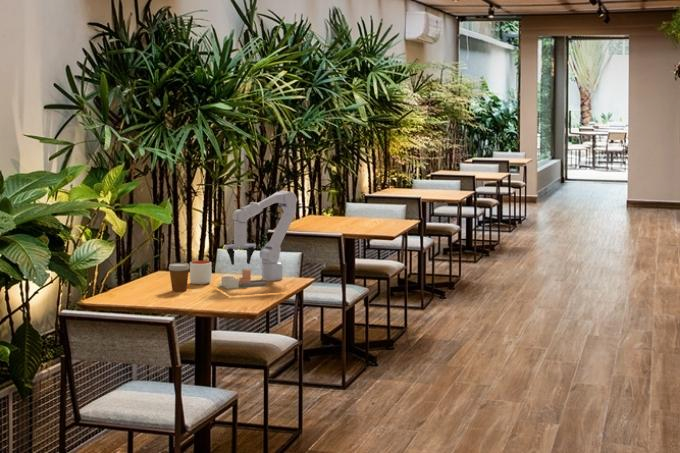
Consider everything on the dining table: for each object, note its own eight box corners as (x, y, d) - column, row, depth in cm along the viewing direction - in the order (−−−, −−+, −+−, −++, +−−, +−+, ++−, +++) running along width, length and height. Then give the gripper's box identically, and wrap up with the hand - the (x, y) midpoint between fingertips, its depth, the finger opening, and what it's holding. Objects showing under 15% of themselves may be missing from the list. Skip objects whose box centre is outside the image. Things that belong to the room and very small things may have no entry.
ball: (228, 276, 465) (226, 284, 465) (231, 277, 461) (228, 285, 461) (236, 278, 466) (234, 286, 466) (239, 279, 463) (236, 287, 463)
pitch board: (259, 282, 479) (259, 272, 478) (269, 288, 466) (269, 277, 465) (216, 285, 470) (216, 275, 470) (225, 291, 458) (225, 280, 457)
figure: (247, 283, 469) (247, 268, 469) (251, 285, 465) (251, 270, 464) (239, 284, 468) (238, 269, 467) (242, 286, 463) (242, 270, 462)
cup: (213, 281, 481) (213, 260, 480) (208, 285, 471) (208, 264, 470) (192, 281, 482) (192, 260, 481) (187, 284, 472) (187, 263, 471)
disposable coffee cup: (185, 293, 452) (185, 266, 450) (165, 292, 454) (165, 265, 452) (193, 289, 461) (192, 263, 460) (173, 288, 463) (172, 262, 462)
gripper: (227, 237, 467) (228, 266, 468) (257, 235, 472) (257, 264, 474) (223, 235, 473) (223, 263, 475) (253, 233, 479) (253, 262, 480)
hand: (240, 264), depth 475 cm, fingers open, 7 cm apart
